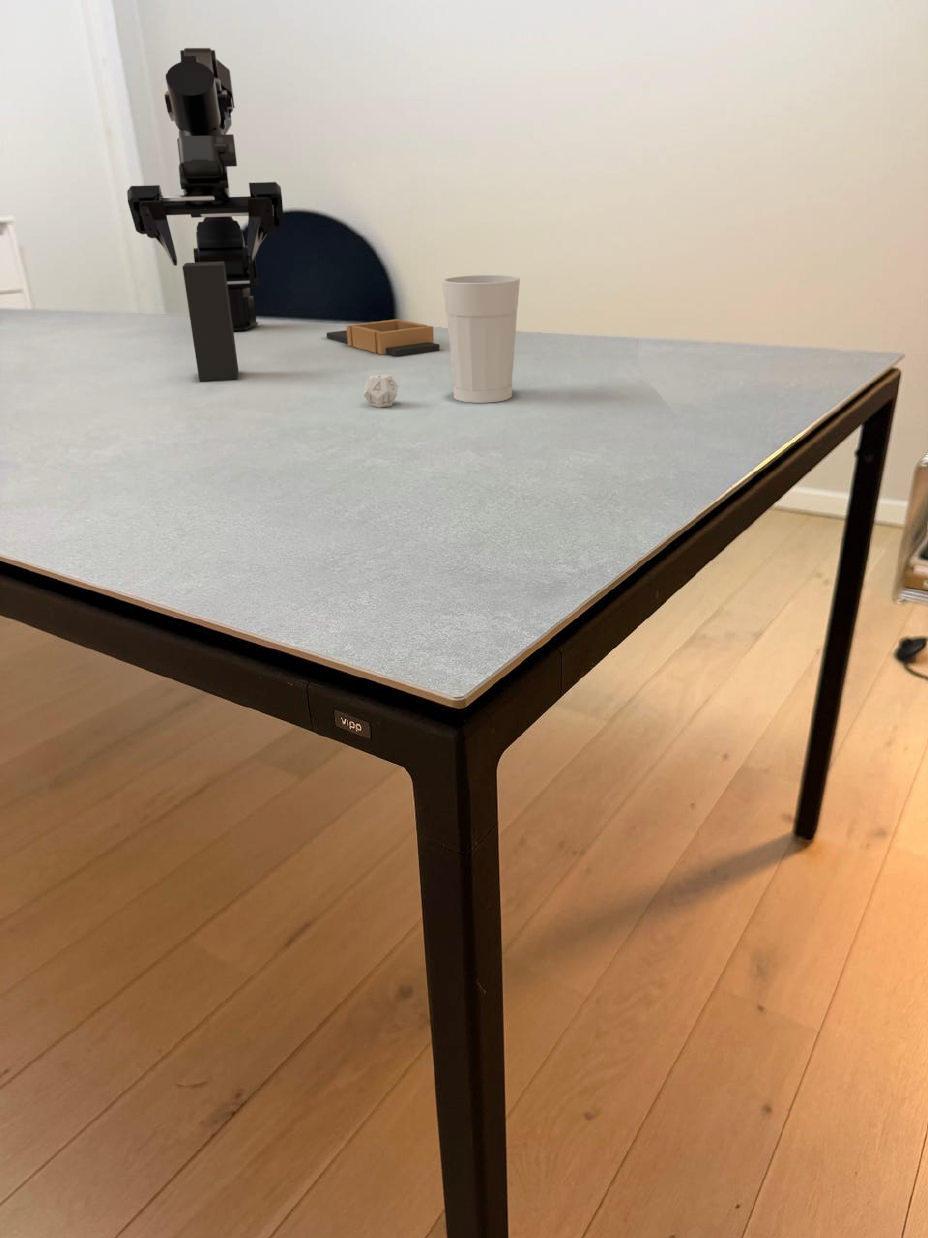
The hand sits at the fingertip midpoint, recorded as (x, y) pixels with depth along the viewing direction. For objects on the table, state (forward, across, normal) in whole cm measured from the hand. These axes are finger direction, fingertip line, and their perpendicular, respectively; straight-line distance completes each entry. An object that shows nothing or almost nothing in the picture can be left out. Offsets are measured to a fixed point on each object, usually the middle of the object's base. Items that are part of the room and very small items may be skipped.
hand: (212, 261), depth 114 cm
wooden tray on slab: (+3, +21, +15) cm, 26 cm away
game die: (+30, +17, -12) cm, 36 cm away
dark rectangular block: (+15, -1, +3) cm, 15 cm away
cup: (+29, +28, -11) cm, 42 cm away
